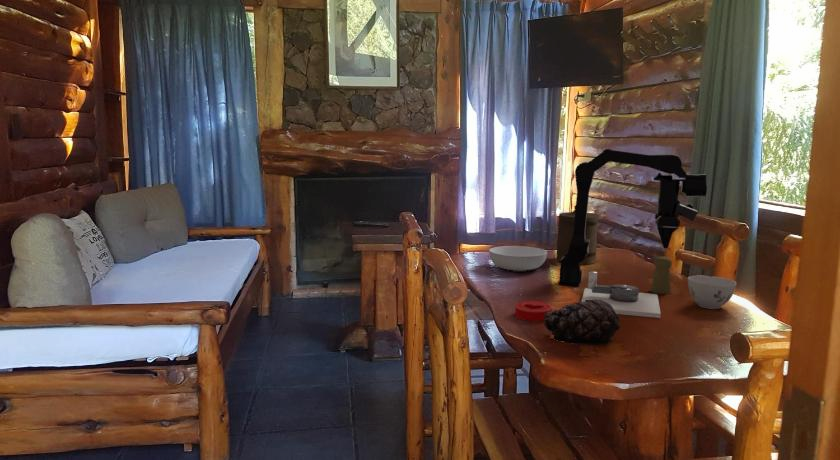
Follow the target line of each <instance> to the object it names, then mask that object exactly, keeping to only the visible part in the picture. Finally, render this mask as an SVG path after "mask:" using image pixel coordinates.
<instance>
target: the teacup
mask: <svg viewBox="0 0 840 460" xmlns="http://www.w3.org/2000/svg"><path fill="white" fill-rule="evenodd" d="M687 286H688V291H689V294H690V296H691V297H692V299H693V301H694V302H695V303H696V304H697V306H699V307H700V308H704V309H709V310H710V309H711V310H719V309H722V307H723V306H724V305H726V304H727V303H728V302H729V301H730V300H731V298H732V297H733V295H734V293H735V290H736V287H737V281H735V280H732V279H729V278H725V277H722V276H721V277H719V276H714V275H713V276H709V275H704V274H703V275H700V274H699V275H691V276H690V275H689V276H688V277H687Z"/></svg>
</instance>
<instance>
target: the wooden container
mask: <svg viewBox="0 0 840 460" xmlns="http://www.w3.org/2000/svg"><path fill="white" fill-rule="evenodd" d="M575 209H576V204H574V210H573V211H572V212H569V211H567V212H560V213H558V228H557V240H556V257H555V258H556V261H557V262H560V261H561V259H562V257H563V256H564V255H565V254H566V253H567V252H568V249H569V246H570V242H571V239H572V236H573V230H574V220H575ZM598 222H599V215H598V214H595V213H589V212H587V219H586V230H585V236H586V239H590V242H589V253H588V255H587V254H586V257H585V259H584V260H583V261H582V262H580V263H579V264H578V265H585V266H586V265H593V264H595V263H596V262H597V260H596V259H597V246H598V245H597V243H598V242H597V239H598V237H597V236H598V234H597V233H598Z"/></svg>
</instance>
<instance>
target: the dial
mask: <svg viewBox="0 0 840 460" xmlns="http://www.w3.org/2000/svg"><path fill="white" fill-rule="evenodd" d="M587 279H588V280H587V281H588V283H587V288H588V289H592V293H602V294H610V296H609V297H610V298H611V299H613V300H617V301H623V302H633V301H637V300H638V297H639V293H640V288H639V287H638V286H634V285H628V284H612V285H603V284H602V285H601V284H597V282H598V272H597V271H596V270H595V271H593V270H590V271H588V278H587Z"/></svg>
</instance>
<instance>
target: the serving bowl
mask: <svg viewBox="0 0 840 460" xmlns="http://www.w3.org/2000/svg"><path fill="white" fill-rule="evenodd" d="M488 253H489V258H490V260H491V262H492V263H493V264H494V265H495V266H497V267H498V268H501V269H504V270H506V269H507V270H506V271H509V270H513V271H512V272H527V270H528V271H532V270H535V269H537V268H539V267H541V266H542V265H543V264H544V263H545V261H546V259H547V255H548V251H547V250H545V249H543V248H539V247H532V246H523V245H522V246H520V245H504V246H503V245H502V246H495V247H492V248H491V247H490V248H489V250H488Z"/></svg>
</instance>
